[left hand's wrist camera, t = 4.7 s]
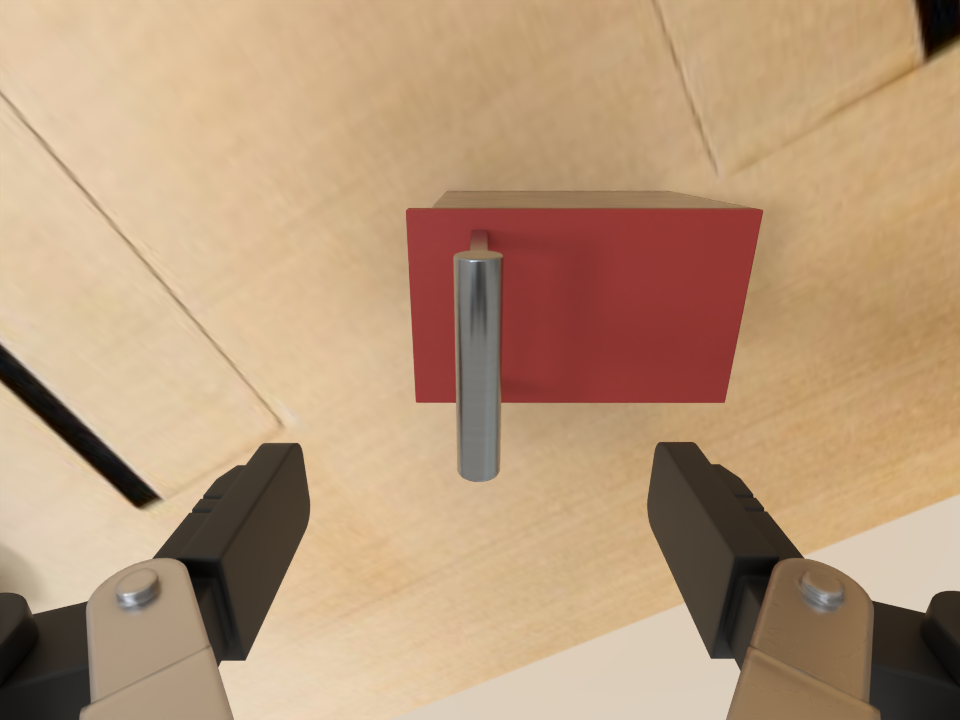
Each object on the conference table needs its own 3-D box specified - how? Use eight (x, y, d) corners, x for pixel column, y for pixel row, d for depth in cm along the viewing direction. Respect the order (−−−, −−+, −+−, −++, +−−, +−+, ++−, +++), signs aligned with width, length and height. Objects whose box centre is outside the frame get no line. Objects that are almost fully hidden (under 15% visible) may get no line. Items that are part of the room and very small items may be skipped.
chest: (449, 327, 36) (437, 395, 26) (445, 191, 33) (430, 208, 23) (651, 327, 36) (717, 395, 26) (668, 191, 33) (753, 208, 23)
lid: (417, 395, 26) (391, 498, 18) (408, 208, 23) (370, 236, 15) (718, 395, 26) (818, 498, 18) (754, 208, 23) (896, 236, 15)
